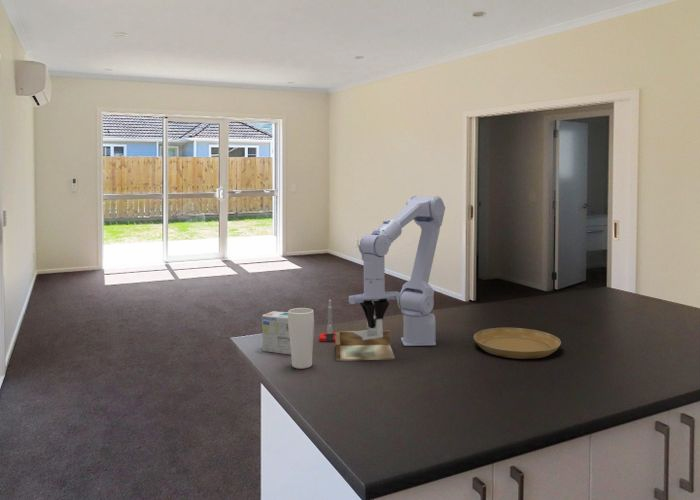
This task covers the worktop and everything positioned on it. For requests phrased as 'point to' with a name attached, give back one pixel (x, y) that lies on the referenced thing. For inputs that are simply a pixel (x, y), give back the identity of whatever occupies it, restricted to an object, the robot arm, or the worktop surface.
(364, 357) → the board
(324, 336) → the tow hook
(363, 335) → the bracket
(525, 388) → the worktop surface
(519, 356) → the plant saucer
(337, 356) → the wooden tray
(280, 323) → the light bulb box
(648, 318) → the worktop surface
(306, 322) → the drinking glass
